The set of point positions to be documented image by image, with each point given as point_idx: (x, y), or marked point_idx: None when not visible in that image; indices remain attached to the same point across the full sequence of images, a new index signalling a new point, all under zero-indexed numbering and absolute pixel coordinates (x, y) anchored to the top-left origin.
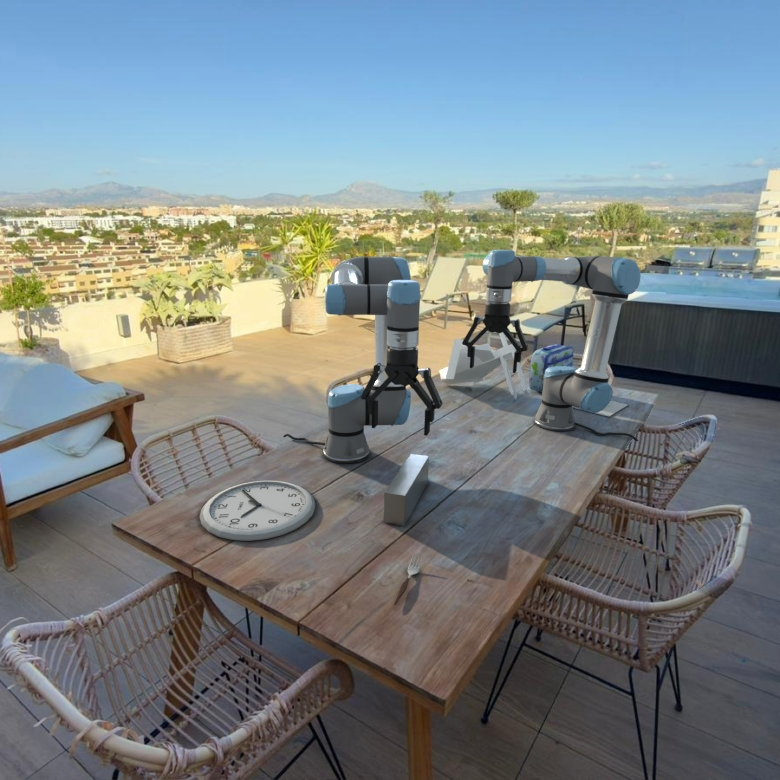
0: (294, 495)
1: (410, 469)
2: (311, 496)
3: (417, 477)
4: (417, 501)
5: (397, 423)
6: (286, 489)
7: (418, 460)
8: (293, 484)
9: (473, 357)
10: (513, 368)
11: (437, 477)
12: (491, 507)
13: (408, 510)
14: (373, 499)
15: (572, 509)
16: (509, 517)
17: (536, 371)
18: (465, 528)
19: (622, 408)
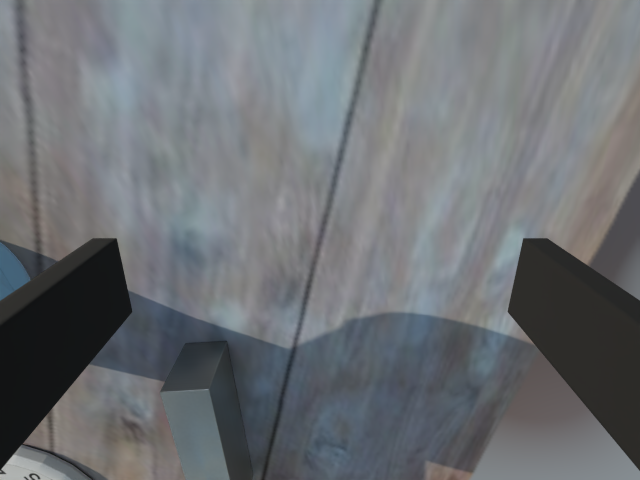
0: (35, 476)
1: (202, 458)
2: (63, 470)
3: (229, 466)
4: (240, 411)
5: None
6: (5, 467)
7: (196, 417)
8: None
9: (63, 338)
10: (533, 338)
11: (236, 310)
12: (379, 380)
13: (246, 473)
14: (162, 428)
15: None
16: (416, 398)
17: None
18: (347, 449)
19: None
